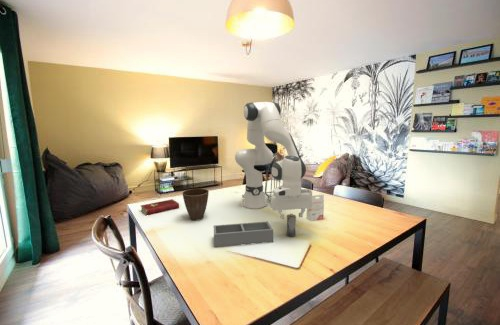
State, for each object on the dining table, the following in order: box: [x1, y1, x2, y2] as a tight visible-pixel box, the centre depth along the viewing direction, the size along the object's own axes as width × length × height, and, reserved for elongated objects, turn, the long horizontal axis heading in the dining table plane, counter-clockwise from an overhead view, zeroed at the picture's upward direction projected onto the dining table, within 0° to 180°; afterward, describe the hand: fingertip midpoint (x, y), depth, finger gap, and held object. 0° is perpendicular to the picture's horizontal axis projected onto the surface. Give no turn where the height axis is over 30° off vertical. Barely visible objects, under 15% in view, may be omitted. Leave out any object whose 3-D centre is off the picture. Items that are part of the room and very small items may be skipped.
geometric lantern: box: [264, 152, 285, 202], centre depth 170 cm, size 16×16×35 cm
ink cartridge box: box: [306, 194, 325, 222], centre depth 135 cm, size 9×5×15 cm, turn 105°
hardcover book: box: [140, 198, 180, 217], centre depth 154 cm, size 12×21×4 cm, turn 129°
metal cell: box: [285, 213, 297, 238], centre depth 115 cm, size 4×4×11 cm
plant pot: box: [182, 188, 210, 221], centre depth 137 cm, size 15×15×16 cm
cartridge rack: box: [213, 220, 274, 248], centre depth 111 cm, size 10×27×6 cm, turn 100°
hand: (291, 217), depth 114 cm, fingers open, 8 cm apart
